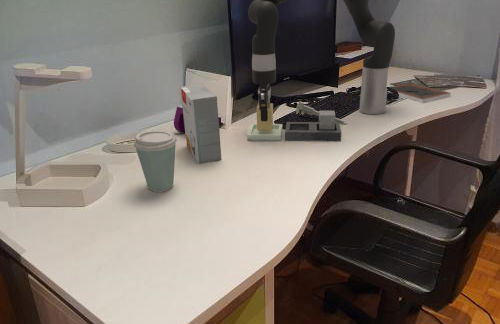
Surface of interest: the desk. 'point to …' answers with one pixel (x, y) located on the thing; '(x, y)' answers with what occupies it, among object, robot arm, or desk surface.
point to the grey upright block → (326, 120)
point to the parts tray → (265, 133)
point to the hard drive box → (201, 122)
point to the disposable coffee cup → (157, 158)
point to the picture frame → (420, 92)
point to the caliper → (312, 112)
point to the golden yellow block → (265, 124)
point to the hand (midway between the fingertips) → (265, 118)
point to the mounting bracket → (181, 120)
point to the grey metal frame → (310, 132)
